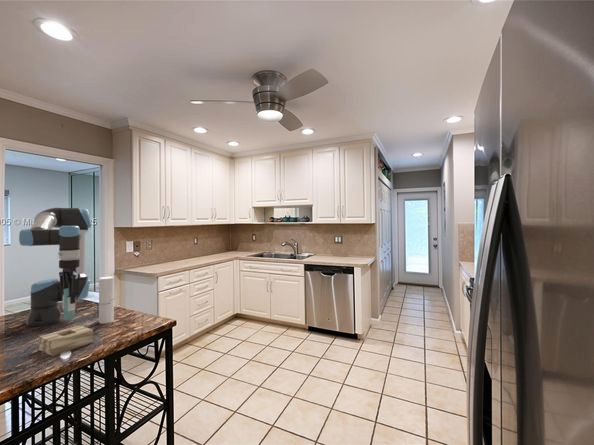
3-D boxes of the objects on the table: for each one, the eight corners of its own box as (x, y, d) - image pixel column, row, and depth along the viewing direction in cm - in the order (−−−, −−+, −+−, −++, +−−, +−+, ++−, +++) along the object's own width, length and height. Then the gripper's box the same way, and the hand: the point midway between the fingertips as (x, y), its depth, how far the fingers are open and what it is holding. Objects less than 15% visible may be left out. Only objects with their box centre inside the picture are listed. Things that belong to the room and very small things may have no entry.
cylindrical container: (116, 320, 169) (117, 277, 169) (104, 324, 162) (105, 279, 162) (107, 318, 171) (108, 276, 171) (95, 322, 165) (96, 278, 164)
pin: (61, 319, 134) (61, 289, 134) (71, 316, 138) (71, 287, 137) (66, 320, 132) (66, 290, 132) (76, 318, 136) (76, 288, 136)
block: (39, 349, 130) (39, 336, 130) (79, 337, 144) (79, 325, 144) (52, 356, 125) (52, 342, 125) (93, 342, 139) (93, 329, 139)
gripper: (50, 258, 135) (50, 308, 135) (69, 261, 127) (69, 314, 128) (69, 256, 142) (68, 304, 142) (88, 259, 134) (88, 310, 134)
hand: (69, 309), depth 135 cm, fingers closed on pin, 4 cm apart
